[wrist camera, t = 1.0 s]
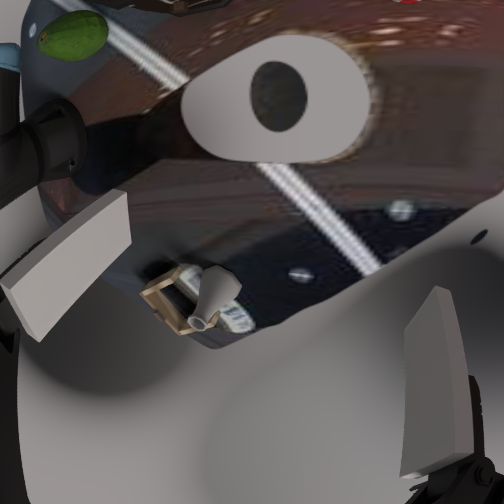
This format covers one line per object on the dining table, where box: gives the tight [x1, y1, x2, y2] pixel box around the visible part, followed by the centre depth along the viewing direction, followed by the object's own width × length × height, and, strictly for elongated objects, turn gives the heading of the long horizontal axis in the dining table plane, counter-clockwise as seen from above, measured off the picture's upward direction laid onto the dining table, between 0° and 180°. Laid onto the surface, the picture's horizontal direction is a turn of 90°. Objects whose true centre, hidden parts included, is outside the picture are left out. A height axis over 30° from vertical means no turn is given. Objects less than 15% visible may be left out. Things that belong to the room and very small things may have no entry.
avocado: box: [36, 10, 109, 62], centre depth 26 cm, size 8×8×12 cm
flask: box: [187, 265, 242, 331], centre depth 47 cm, size 7×7×10 cm
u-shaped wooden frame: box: [139, 266, 221, 335], centre depth 55 cm, size 11×12×4 cm
